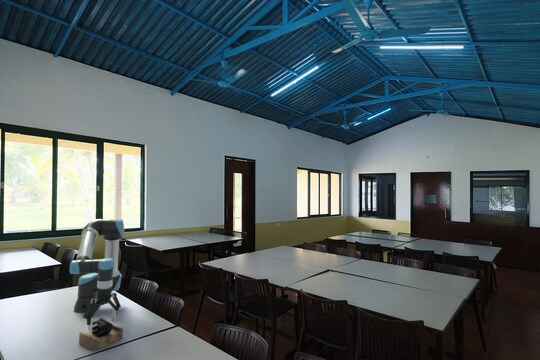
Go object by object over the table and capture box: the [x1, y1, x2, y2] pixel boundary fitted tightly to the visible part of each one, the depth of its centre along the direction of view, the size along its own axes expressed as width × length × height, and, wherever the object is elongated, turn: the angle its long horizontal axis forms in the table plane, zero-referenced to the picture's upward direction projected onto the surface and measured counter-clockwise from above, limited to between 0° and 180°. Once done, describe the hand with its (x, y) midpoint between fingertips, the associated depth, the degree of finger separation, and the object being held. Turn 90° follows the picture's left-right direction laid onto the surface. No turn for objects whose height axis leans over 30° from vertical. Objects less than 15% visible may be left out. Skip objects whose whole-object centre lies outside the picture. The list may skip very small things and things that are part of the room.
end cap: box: [92, 317, 114, 338], centre depth 166 cm, size 10×7×7 cm
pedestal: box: [78, 323, 124, 351], centre depth 166 cm, size 16×14×5 cm
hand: (102, 325), depth 166 cm, fingers open, 13 cm apart
